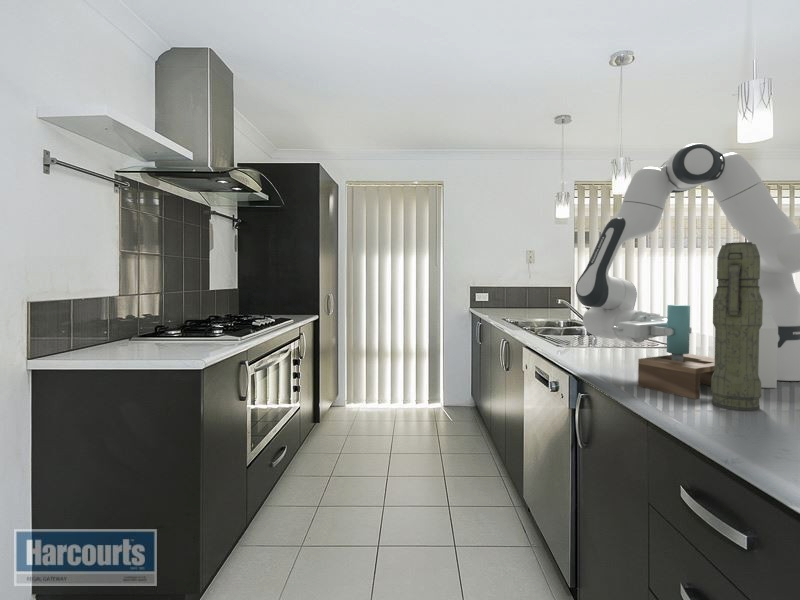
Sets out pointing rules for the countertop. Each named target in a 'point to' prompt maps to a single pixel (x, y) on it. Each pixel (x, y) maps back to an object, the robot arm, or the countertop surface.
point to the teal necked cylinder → (678, 331)
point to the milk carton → (768, 351)
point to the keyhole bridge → (676, 374)
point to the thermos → (737, 328)
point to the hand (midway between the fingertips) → (681, 331)
